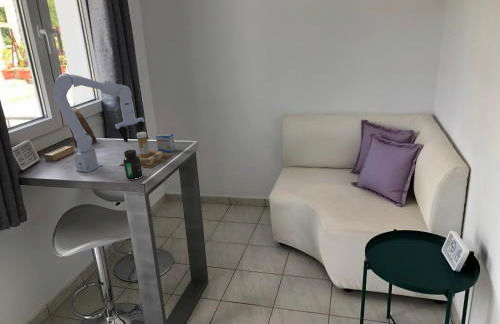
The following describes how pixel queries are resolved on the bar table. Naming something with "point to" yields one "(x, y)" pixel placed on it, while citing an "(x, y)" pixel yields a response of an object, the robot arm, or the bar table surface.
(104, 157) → the bar table surface
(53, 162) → the bar table surface
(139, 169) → the supplement bottle
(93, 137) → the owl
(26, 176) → the bar table surface
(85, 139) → the robot arm
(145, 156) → the sprinkles bottle
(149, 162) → the socket block
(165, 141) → the medicine box
